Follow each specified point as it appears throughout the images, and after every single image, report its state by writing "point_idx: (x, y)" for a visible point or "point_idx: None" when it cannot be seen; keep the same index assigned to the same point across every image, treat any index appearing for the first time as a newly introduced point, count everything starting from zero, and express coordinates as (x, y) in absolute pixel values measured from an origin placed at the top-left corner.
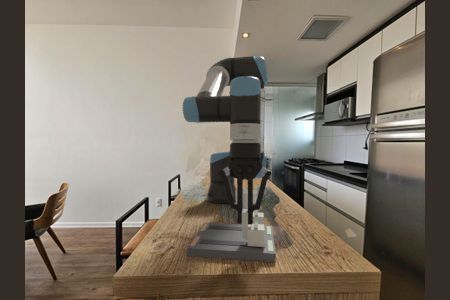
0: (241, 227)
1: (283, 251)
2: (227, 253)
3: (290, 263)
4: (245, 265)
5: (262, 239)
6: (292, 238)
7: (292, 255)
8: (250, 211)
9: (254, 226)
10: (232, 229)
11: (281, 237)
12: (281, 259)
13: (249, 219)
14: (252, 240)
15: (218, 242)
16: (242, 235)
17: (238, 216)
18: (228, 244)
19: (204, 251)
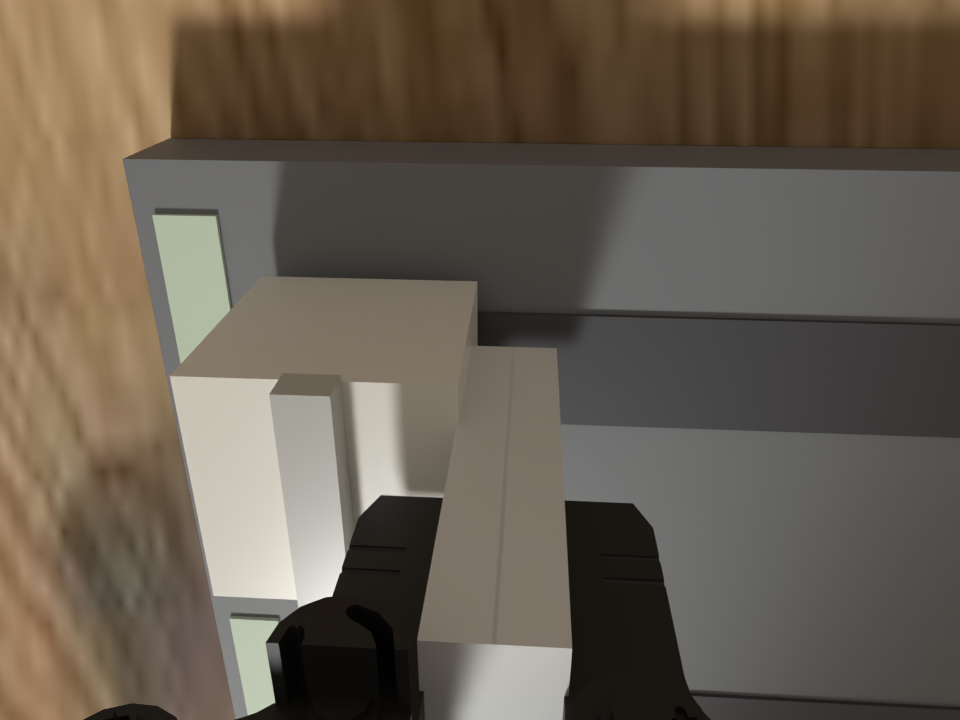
0: None
1: (119, 383)
2: (736, 159)
3: (16, 139)
4: (499, 21)
5: (255, 315)
6: (68, 636)
7: (20, 311)
8: (328, 624)
9: (331, 438)
10: None
11: (172, 649)
12: (118, 214)
13: (410, 558)
14: (401, 307)
15: (867, 372)
16: (548, 369)
17: (644, 607)
18: (731, 330)
19: None
